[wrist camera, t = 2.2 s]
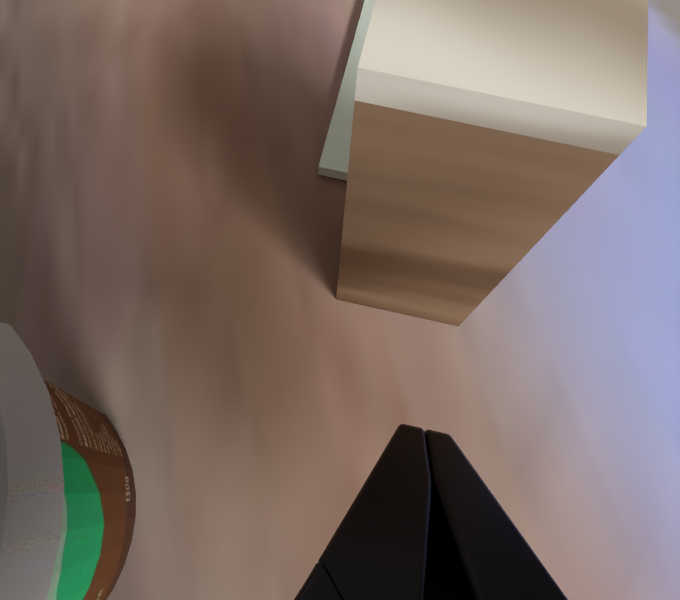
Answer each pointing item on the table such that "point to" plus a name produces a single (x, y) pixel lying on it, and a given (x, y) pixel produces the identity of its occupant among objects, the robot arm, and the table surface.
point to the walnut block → (479, 140)
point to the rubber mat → (345, 107)
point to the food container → (58, 488)
